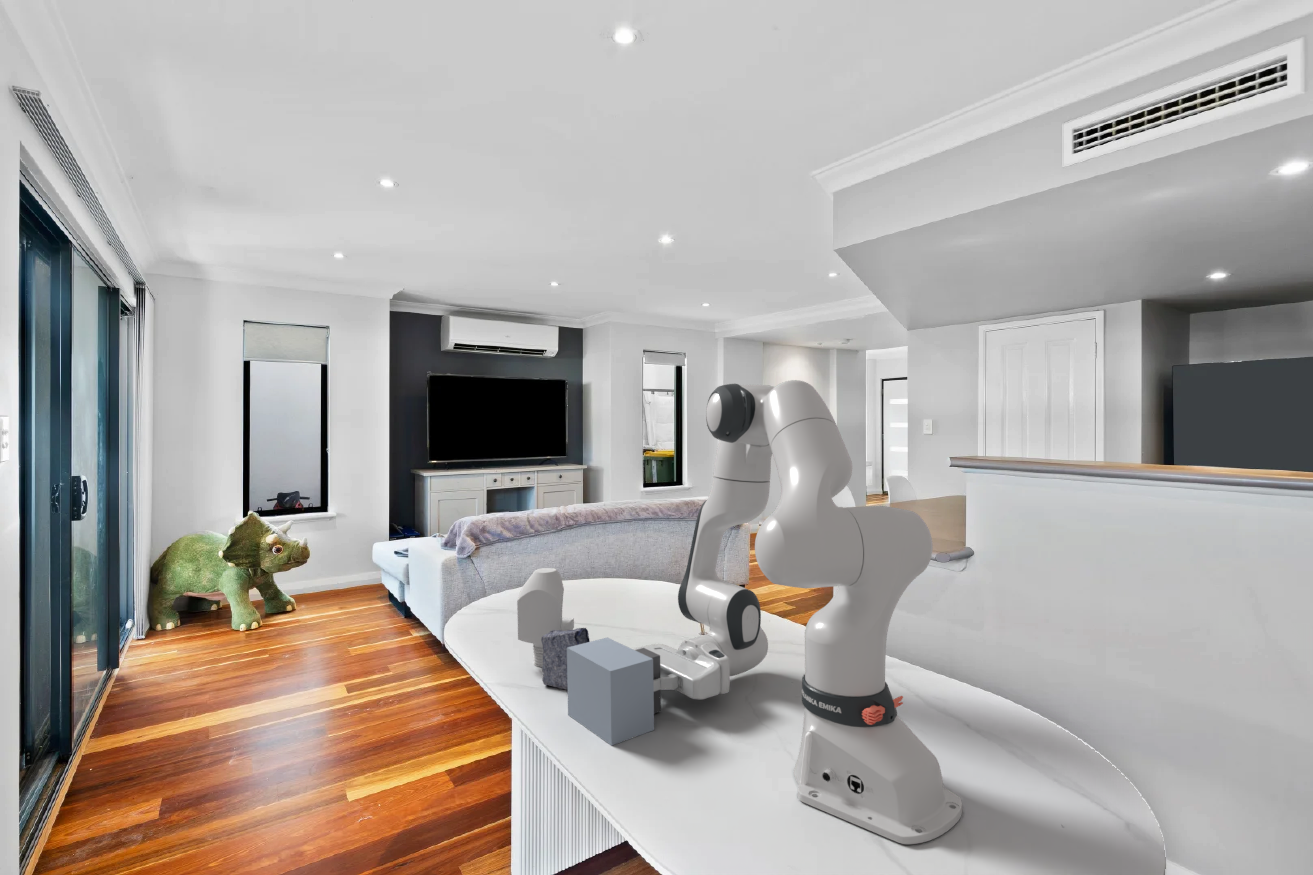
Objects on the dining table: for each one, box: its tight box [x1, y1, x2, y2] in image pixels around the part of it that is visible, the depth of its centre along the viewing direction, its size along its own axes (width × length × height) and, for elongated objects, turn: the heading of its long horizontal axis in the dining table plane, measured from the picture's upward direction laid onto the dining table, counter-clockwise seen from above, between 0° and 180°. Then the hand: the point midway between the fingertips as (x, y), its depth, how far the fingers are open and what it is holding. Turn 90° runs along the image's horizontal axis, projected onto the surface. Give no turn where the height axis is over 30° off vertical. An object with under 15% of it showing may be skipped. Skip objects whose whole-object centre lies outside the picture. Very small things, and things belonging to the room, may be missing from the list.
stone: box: [541, 627, 591, 691], centre depth 130 cm, size 12×10×10 cm
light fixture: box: [516, 567, 575, 668], centre depth 140 cm, size 9×9×20 cm
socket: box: [567, 637, 655, 746], centre depth 112 cm, size 14×9×12 cm, turn 37°
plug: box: [635, 648, 662, 714], centre depth 115 cm, size 5×8×10 cm, turn 127°
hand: (639, 679), depth 115 cm, fingers closed on plug, 5 cm apart
